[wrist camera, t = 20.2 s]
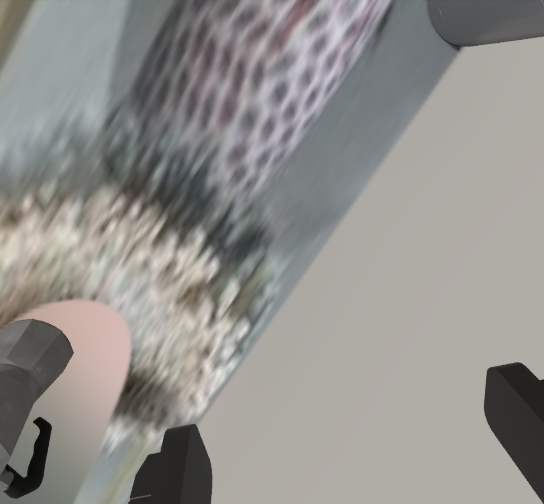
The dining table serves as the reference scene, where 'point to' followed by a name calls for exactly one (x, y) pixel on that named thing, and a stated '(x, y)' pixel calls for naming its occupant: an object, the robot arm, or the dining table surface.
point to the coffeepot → (27, 394)
